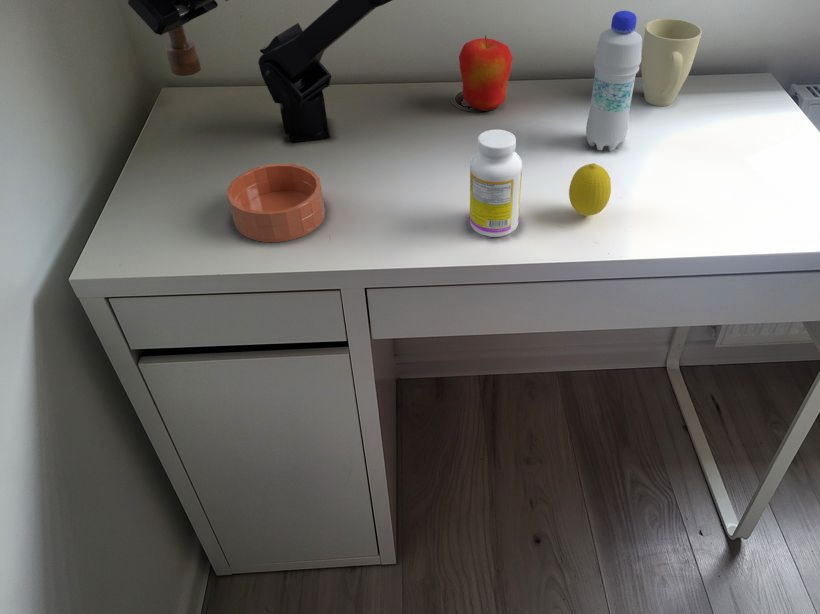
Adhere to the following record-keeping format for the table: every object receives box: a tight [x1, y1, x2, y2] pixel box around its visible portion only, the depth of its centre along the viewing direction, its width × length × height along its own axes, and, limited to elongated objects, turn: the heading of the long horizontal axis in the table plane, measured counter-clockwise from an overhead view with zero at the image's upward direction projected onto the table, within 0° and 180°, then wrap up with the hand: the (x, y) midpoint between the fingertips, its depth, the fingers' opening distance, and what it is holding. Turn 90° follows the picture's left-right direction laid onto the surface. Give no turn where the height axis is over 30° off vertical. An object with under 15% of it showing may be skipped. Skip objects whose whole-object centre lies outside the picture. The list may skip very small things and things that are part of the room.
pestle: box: [164, 24, 202, 77], centre depth 112 cm, size 5×5×13 cm
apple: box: [458, 34, 513, 111], centre depth 117 cm, size 9×8×12 cm
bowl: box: [226, 163, 326, 243], centre depth 96 cm, size 12×12×4 cm
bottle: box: [585, 10, 643, 152], centre depth 105 cm, size 7×7×20 cm
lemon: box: [568, 163, 612, 217], centre depth 95 cm, size 6×6×8 cm
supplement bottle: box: [469, 129, 523, 238], centre depth 92 cm, size 7×7×13 cm
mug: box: [640, 18, 703, 107], centre depth 118 cm, size 11×10×12 cm
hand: (168, 27), depth 112 cm, fingers closed on pestle, 2 cm apart
